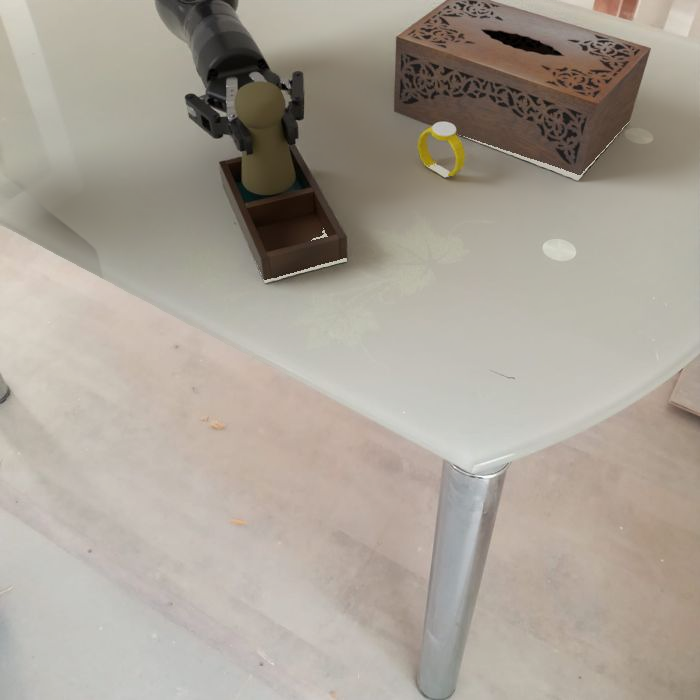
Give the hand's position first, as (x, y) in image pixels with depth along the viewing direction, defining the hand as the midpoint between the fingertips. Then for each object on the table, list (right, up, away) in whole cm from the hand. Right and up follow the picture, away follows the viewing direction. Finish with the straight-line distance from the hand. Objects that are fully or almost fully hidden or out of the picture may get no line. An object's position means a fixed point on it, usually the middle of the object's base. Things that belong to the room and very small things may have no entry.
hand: (270, 142), depth 79 cm
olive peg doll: (-1, -2, +7) cm, 7 cm away
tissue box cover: (+28, +8, +19) cm, 35 cm away
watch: (+19, 0, +12) cm, 22 cm away
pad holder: (+1, -7, +6) cm, 10 cm away
